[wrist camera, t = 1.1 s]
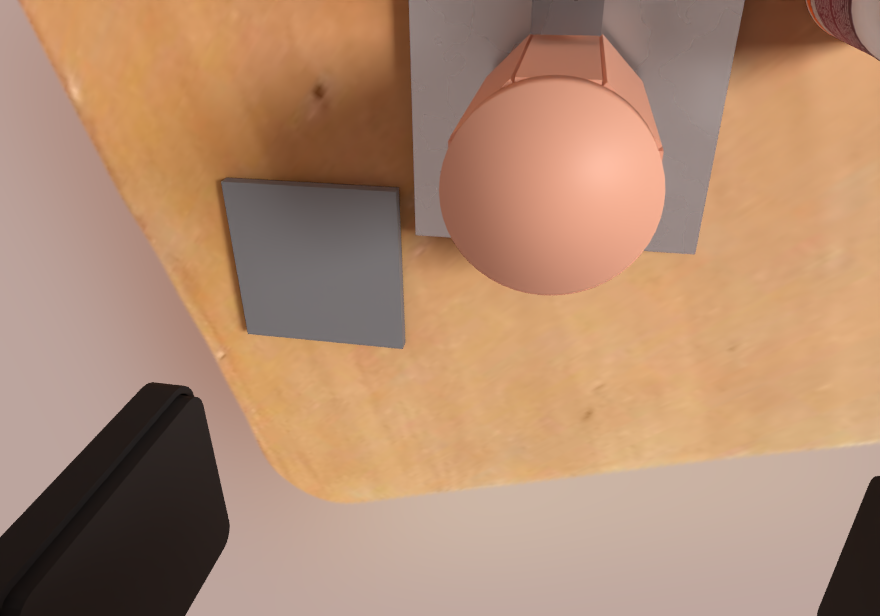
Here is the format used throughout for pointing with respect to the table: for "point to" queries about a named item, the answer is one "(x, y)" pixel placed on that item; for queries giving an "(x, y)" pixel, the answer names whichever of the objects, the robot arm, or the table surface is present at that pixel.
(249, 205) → the coaster
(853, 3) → the pill bottle
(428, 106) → the pegged base plate
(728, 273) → the table surface
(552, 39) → the salmon domed faceted piece
